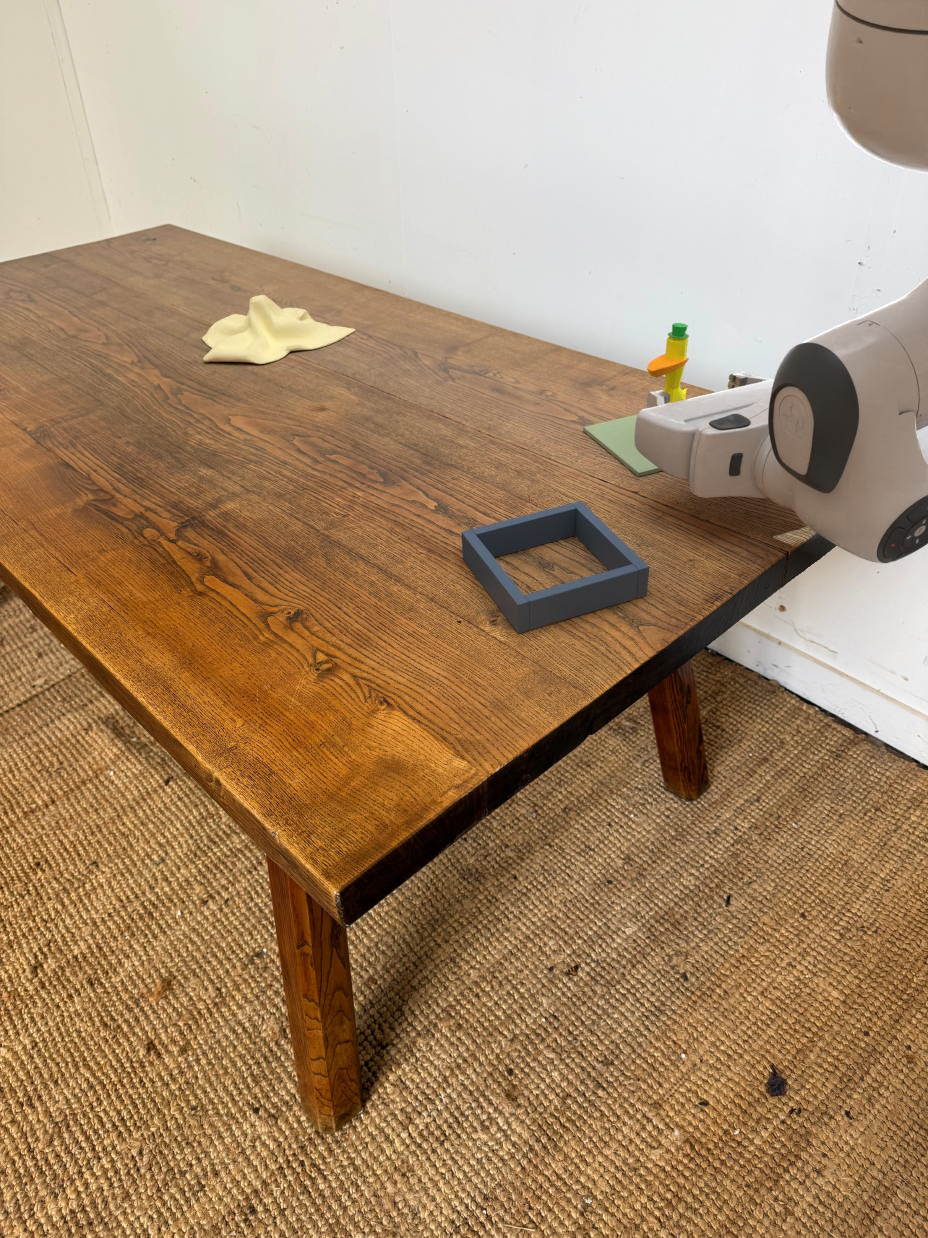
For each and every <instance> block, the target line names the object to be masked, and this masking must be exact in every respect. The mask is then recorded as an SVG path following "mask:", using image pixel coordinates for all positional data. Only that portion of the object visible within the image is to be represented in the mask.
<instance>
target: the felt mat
mask: <svg viewBox="0 0 928 1238" xmlns="http://www.w3.org/2000/svg"><path fill="white" fill-rule="evenodd" d="M637 416H638V413H637V414H633V415H629V416H625V417H620V418H616V419H612V420H607V421H603V422H602V421H601V422H600V423H599V422H598V423H594V424H591V425H590V424H589V425H586V426H583V427H582V429H583V432H584V433H585V434H587V436H589V437H590V438H591V439H593V440H594V441H595V442H596V443H597V444H599V446H601V447H602V448H603V449H604V450H606V451H607V452H608V453H609V454H610V455H612V456H613V457H614V458H615V459H616V460H617V461H619V463H621V464H622V465H624V466H625V467H626V468H627V469H629V470H630V471H631V472H632V473H633V474H634V475H636V476H637V477H644V476H647V475H652V474H655V473H659V472H664V471H663V470H661V469H660V468H658V467H657V466H656V465H654V464H653V463H652V462H650V461H649V460H648V459H646V458H645V457H644V456H643V455H642V454H641V453H640V452H639V451H638V450H637V449H636V447H635V440H634V435H635V424H636V419H637Z"/></svg>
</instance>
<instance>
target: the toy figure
mask: <svg viewBox="0 0 928 1238" xmlns="http://www.w3.org/2000/svg"><path fill="white" fill-rule="evenodd" d="M688 327H689V325H688V324H686V323H681V322H674V323H672V325H671V331H670V332H668V333H667V336H668V337H667V338H666V344H665V345H666V346H665V353H663V354H660V355H659V356H657V357H655V358H654V359H652V360H651V361H650V362H649V363H648V365H647V367H646V370H647V372H648V374H649V375H650V376H651V377H653V378H656V379H657V378H661V377H663V376H664V378H665V379H664V381H665V383H664V385H665V386H664V387H663V389H662V390H664V392H667V393H668V394H670V402H669V403H672V402H677V401H681V400H685V399H687V396H686V395H687V390H688V388H684V389H682V388H681V382H682V379H683V374H684V370H685V366H686V364H687V363H688V361H689V357H687V353H688V344H689V337H690V335H689V334H688V333H687V331H688Z"/></svg>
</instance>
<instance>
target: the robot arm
mask: <svg viewBox="0 0 928 1238" xmlns="http://www.w3.org/2000/svg"><path fill="white" fill-rule="evenodd" d="M830 18H831V19H830V23H829V30H828V36H827V44H826V51H825V66H824V67H825V68H824V69H825V70H824V73H825V74H824V75H825V78H824V79H825V93H826V102H827V106H828V108H829V110H830V112H831V114H832V117H833V119H834V120H835V122H836V124H837V125H838V127H839V130H841V131H842V133H843V134H844V135H845V137H846V138H847V139H848V140H849V141H850V142H851V143H852V144H853V145H854V146H856V147H857V148H858V149H859V150H861V151H862V152H863V153H865V154H867V155H868V156H870V157H871V158H874V159H876V160H879V161H880V162H883V163H885V164H887V165H890V166H893V167H896V168H899V169H902V170H905V171H909V172H914V173H919V174H926V175H928V0H833V5H832V11H831V17H830ZM646 397H647V398H646V408H643V409H641V410H640V411H638V413H637V414H638V416H637V419H636V424H635V435H634V440H635V447H636V449H637V450H638V451H639V452H640V453H641V454H642V455H643V456H644V457H645V458H646V459H648V460H649V461H650V462H652V463H653V464H654V465H656V466H657V467H658V468H660V469H661V470H663V471H662V472H664V473H666V474H668V475H669V476H671V477H673V478H676V479H679V480H684V481H688V489H689V491H690V492H691V493H692V494H693V495H695V496H696V497H699V498H703V499H705V498H706V499H707V498H709V499H710V498H725V497H743V498H754V499H766V498H767V499H769V500H770V501H772V502H773V503H775V504H776V505H778V506H781V507H784V508H787V509H790V510H792V511H794V512H795V514H796V516H797V517H798V518H799V520H800V521H801V522H802V523H803V524H804V525H806V527H808V528H809V529H811V530H812V531H813V532H815V533H816V534H817V535H819V536H821V537H823V539H825V540H827V541H829V542H830V543H832V544H834V545H835V546H837V547H838V548H840V549H842V550H843V551H845V552H847V553H849V554H851V555H853V556H856V557H857V558H859V559H862V560H865V561H868V562H871V563H875V564H890V563H892V562H893V563H894V562H897V561H900V560H901V559H904V558H905V557H908V556H910V555H912V554H913V553H915V552H917V551H919V550H921V549H922V548H924V547H926V546H927V545H928V461H927V459H926V456H925V454H924V451H923V448H922V447H921V443H920V440H919V437H918V431H920V430H923V429H924V428H926V427H928V275H927V276H926V277H925V278H924V279H923V280H922V281H921V282H920V283H918V284H917V286H915V287H914V288H913V289H911V290H910V291H909V292H907V293H906V294H904V295H903V296H901V297H900V298H897V299H895V300H893V301H891V302H889V303H887V304H884V305H882V306H880V307H878V308H876V309H874V310H872V311H870V312H867V313H865V314H863V315H861V316H858V317H857V318H854V319H849V320H847V321H845V322H843V323H840V324H838V325H836V326H834V327H832V328H830V329H827V330H825V331H823V332H821V333H819V334H816V335H815V336H812V337H811V338H809V339H806V340H804V341H803V342H801V343H799V344H797V345H795V346H793V347H792V348H791V349H789V350H788V351H787V352H786V354H785V355H784V357H783V359H782V360H781V362H780V364H779V365H778V368H777V370H776V373H775V375H774V378H772V377H765V376H759V375H752V374H750V373H748V372H746V371H744V370H742V371H738V372H734V373H731V374H729V376H728V383H727V389H724V390H720V391H716V392H712V393H708V394H703V395H699V396H694V397H690V398H686V399H685V400H681V401H677V402H672V403H669V402H670V394H668V393H667V392H664V390H663V389H659V390H654V391H649V392H648V393H647V396H646Z"/></svg>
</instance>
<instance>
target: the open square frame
mask: <svg viewBox="0 0 928 1238" xmlns="http://www.w3.org/2000/svg"><path fill="white" fill-rule="evenodd" d="M460 533H461V549H462V551H461V552H462V560H463V561H464V563H465V564H466V566H467V567H468V569H469V570H470V571H471V572H472V574H473V575H474V577H475V578H476V579H477V580H478V582H479V583H480V584H481V586H482V588H484V590H485V591H486V593H487V594H488V595H489V597H490V598H491V600H492V601H493V602H494V603H495V605H496V607H498V609H499V610H500V611H501V613H502V614H503V615H504V617H505V618H506V619H507V621H508V622H509V623H510V625H511V626H512V627H513V629H514V631H515V632H516V633H517V634H518V635H519V634H520V635H521V634H522V633H527V632H529V631H532V630H535V629H536V630H537V629H539V628H543V627H545V626H549V625H552V624H555V623H556V624H557V623H559V622H562V621H566V620H570V619H572V618H576V617H580V616H582V615H586V614H589V613H592V612H593V613H594V612H596V611H599V610H604V609H606V608H610V607H613V606H616V605H619V604H623V603H626V602H631V601H633V600H637V599H641V598H643V597H647V595H648V585H649V575H650V566H649V565H648V564H647V563H646V562H645V561H644V560H643V559H642V558H641V557H640V556H639V555H638V554H637V553H636V552H635V551H634V550H633V549H632V548H630V546H628V545H627V544H626V543H625V541H623V540H622V538H620V537H619V536H618V535H617V534H616V533H615V532H614V531H613V530H612V529H611V528H610V527H609V526H608V525H606V523H604V522H603V521H602V520H601V518H599V516H597V515H596V514H595V513H594V512H593V511H592V510H591V509H590V508H589V507H588V506H587V505H586V504H585V503H584V502H583V501H582V500H579V501H578V500H577V501H575V502H571V503H568V504H563V505H559V506H556V507H555V506H554V507H552V508H547V509H544V510H540V511H536V512H532V513H529V514H528V513H527V514H524V515H521V516H517V517H513V518H510V519H505V520H501V521H498V522H497V521H496V522H494V523H490V524H485V525H482V526H478V527H474V528H472V529H467V530H463V531H461V532H460ZM571 537H576V538H577V539H578V540H579V541H580V542H581V543H582V544H583V545H584V547H586V548H587V549H588V550H589V551H590V553H592V554H593V555H594V557H596V559H598V561H600V563H601V564H602V565H603V566H604V567H605V568H606V569H607V571H604V572H600V573H597V574H593V575H590V576H586V577H583V578H580V579H579V578H578V579H575V580H572V581H569V582H566V583H561V584H558V585H555V586H551V587H547V588H544V589H540V590H538V591H533V592H530V593H526V594H524V593H523V592H522V591H521V589H519V586H517V585H516V583H515V582H514V580H513V579H512V578H511V576H509V575H508V573H507V572H506V571H505V569H504V568H503V567H502V566H501V565H500V563H499V562H498V561H497V559H496V558H497V557H501V556H505V555H508V554H512V553H515V552H520V551H523V550H527V549H531V548H534V547H538V546H543V545H545V544H549V543H553V542H557V541H560V540H564V539H567V538H571Z"/></svg>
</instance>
